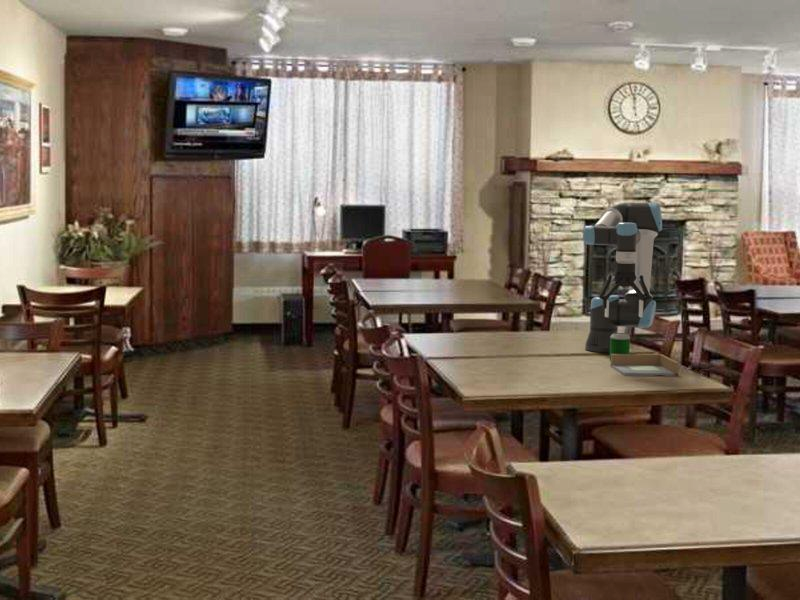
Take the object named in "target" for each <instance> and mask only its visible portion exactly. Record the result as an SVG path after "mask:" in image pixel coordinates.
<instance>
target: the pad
mask: <svg viewBox="0 0 800 600" xmlns="http://www.w3.org/2000/svg"><path fill="white" fill-rule="evenodd" d="M627 367H629V368H631V369H632V370H634V371H661V370H659V369H657V368H656V367H654V366H627Z"/></svg>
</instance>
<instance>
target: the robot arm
mask: <svg viewBox="0 0 800 600" xmlns="http://www.w3.org/2000/svg"><path fill="white" fill-rule="evenodd" d="M662 217H663V216H662V209H661V206H660V205H659V204H658V203H651V202H620V203H616V204H614V205H612V206H609V207H607V208H606V209H604V210H603V211H602V213H601V214H600V218H599V220H598V221H597V222H596V223H595V225H585V226H584V229H583V231H582V232H583V233H582V238H583V243H584V244H585V245H591V246H594V245H596V246H616V250H615V251H616V252H615V261H616V263H615V271H614V272H615V273H614V275H612V274H607V276H606V280H605V283H604V284H603V286H602V288H601V290H600V292H599V293H598V294H597V296H595V297H593V298H592V299H591V300H590V308H589V310H590V314H589V316H590V317H589V318H590V319H589V332H588V336H587V337H586V338H587V339H586V341H585V343H584V345H585V346H584V350H586V351H589V352H594V353H595V352H596V353H610V336H611V335H612V334H613V333H619V332H618V330H619V329H618V328H619V327H624V328H638V329H642V328H643V329H645V328H650V327H652V325H653V322H654V319H655V316H656V315H655V314H656V309H657V302H656V300H654V299H653V298H654V296H653V295H652V294H651V293H650V290H651V277H652V269H653V267H652V266H653V254H654V241H655V240H654V239H655V238H656V237H658V235H659V232H661V231H662V230H663V218H662ZM613 280H614V281H615V282H614V283H613V285H612V286H611V287H610V288H609V286H610V284H611V283H612V282H613ZM619 287H622V288H623V287H627V288H628V291H627V292H626V293H625V294H624V298H620V297H619V295H617V294H616V295H613V293H614V292H615V291H616V290H617V289H618V288H619ZM608 288H609V290H608Z"/></svg>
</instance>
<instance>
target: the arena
mask: <svg viewBox="0 0 800 600" xmlns="http://www.w3.org/2000/svg"><path fill="white" fill-rule="evenodd" d="M627 366H654V367H656V368H657V369H659V370H661V371H634V370H632V369H631V368H629V367H627ZM679 367H680V363H679V362H678V361H677V360H674V359H672V358H671V357H669V356H666V355H665V354H662V353H660V354H659V353H630V354H611V362H610V368H612V369H614V370H615V371H617V372H619V373H620V374H621V375H623V376H624V377H631V376H633V377H635V376H636V377H655V376H654V375H665V376H664V377H679Z"/></svg>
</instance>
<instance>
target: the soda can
mask: <svg viewBox="0 0 800 600" xmlns="http://www.w3.org/2000/svg"><path fill="white" fill-rule="evenodd" d="M630 346H631V336H630V335H629V334H628V333H625V332H618V333H613V334H612V335H611V336H610V352H609V362H610V363H611V354H631V351H630V349H631V347H630Z"/></svg>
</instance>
